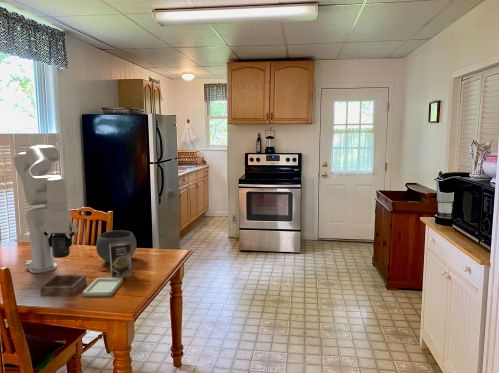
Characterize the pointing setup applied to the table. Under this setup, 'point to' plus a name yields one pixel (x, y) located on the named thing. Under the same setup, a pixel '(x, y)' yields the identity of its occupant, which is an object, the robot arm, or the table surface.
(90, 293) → the tray
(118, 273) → the coffee box
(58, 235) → the supplement bottle
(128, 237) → the bowl
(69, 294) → the holder
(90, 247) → the table surface
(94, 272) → the table surface
